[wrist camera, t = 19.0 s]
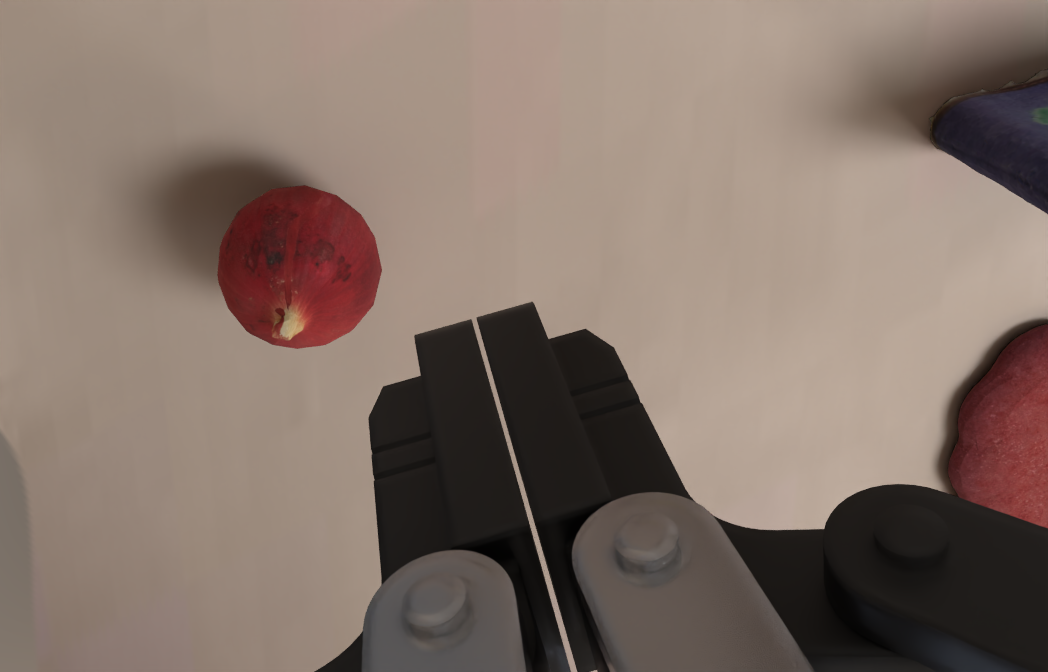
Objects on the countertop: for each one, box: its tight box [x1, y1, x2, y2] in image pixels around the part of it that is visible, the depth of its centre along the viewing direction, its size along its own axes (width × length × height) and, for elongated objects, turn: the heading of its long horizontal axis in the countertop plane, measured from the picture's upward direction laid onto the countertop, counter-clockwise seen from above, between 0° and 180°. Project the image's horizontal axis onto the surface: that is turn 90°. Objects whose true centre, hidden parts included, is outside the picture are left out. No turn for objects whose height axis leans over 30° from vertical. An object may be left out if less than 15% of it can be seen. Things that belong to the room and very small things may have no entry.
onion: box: [217, 185, 382, 349], centre depth 33 cm, size 6×6×8 cm
